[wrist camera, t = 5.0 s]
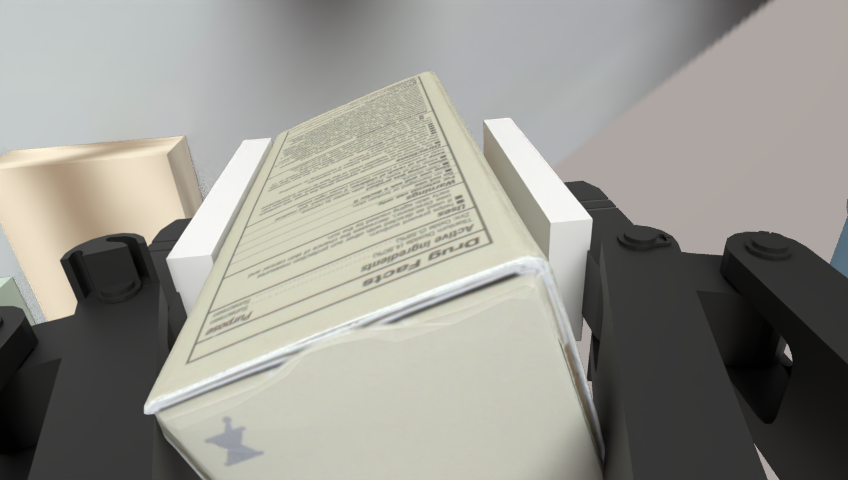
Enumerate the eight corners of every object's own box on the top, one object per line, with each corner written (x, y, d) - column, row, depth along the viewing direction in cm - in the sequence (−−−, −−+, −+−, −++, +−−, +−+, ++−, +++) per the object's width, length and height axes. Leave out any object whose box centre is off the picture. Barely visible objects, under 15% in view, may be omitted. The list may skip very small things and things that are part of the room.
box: (337, 249, 18) (286, 610, 8) (273, 130, 16) (105, 418, 6) (489, 191, 17) (630, 506, 8) (442, 60, 15) (553, 257, 6)
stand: (184, 135, 29) (166, 154, 27) (224, 278, 34) (211, 306, 31) (11, 150, 29) (-25, 171, 26) (73, 292, 33) (48, 322, 31)
